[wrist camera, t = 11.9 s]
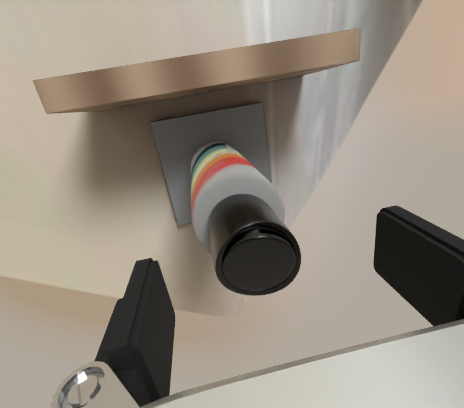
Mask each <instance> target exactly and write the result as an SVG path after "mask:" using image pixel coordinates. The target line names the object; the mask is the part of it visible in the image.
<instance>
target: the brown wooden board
mask: <svg viewBox="0 0 464 408" xmlns="http://www.w3.org/2000/svg"><path fill="white" fill-rule="evenodd" d="M359 60H360V28H359V29H352V30H346V31H340V32H334V33H327V34H321V35H315V36H308V37H302V38H296V39H290V40H283V41H277V42H271V43H264V44H258V45H252V46H246V47H239V48H233V49H227V50H221V51H214V52H208V53H202V54H195V55H189V56H183V57H177V58H170V59H164V60H158V61H151V62H145V63H139V64H133V65H126V66H120V67H114V68H108V69H101V70H95V71H89V72H82V73H76V74H70V75H64V76H57V77H51V78H45V79H39V80H33V82H34V85H35V87H36V90H37V92H38V95H39V97H40V99H41V102H42V104H43V107H44V109H45V112H46V114H50V113H69V112H88V111H100V110H105V109H111V108H117V107H123V106H129V105H134V104H140V103H146V102H152V101H158V100H164V99H169V98H175V97H181V96H187V95H193V94H198V93H204V92H210V91H216V90H222V89H227V88H233V87H239V86H245V85H251V84H256V83H262V82H268V81H274V80H280V79H285V78H291V77H297V76H303V75H307V74H311V73H314V72H318V71H322V70H325V69H329V68H333V67H337V66H340V65H344V64H348V63H352V62H355V61H359Z"/></svg>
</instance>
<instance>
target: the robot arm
mask: <svg viewBox="0 0 464 408" xmlns="http://www.w3.org/2000/svg"><path fill="white" fill-rule="evenodd" d="M374 269H375V271H376V272H377V273H378V274H379V275H380V276H381V277H382V278H383V279H384V280H385V281H386V282H387V283H389V285H390V286H392V287H393V288H394V289H395V290H396V291H397V292H398V293H399V294H400V295H401V296H402V297H403V298H404V299H405V300H406V301H408V302H409V303H410V304H411V305H412V306H413V307H414V308H415V309H416V310H417V311H418V312H419V313H420V314H421V315H422V316H423V317H425V318H426V319H427V320H428V321H429V322H430V323H431V324H432V325H433V327H429V328H425V329H421V330H417V331H413V332H409V333H404V334H401V335H396V336H392V337H388V338H384V339H381V340H376V341H372V342H369V343H364V344H361V345H356V346H353V347H348V348H344V349H341V350H337V351H333V352H329V353H325V354H321V355H317V356H313V357H309V358H305V359H301V360H298V361H294V362H290V363H286V364H282V365H278V366H274V367H270V368H266V369H262V370H259V371H255V372H251V373H247V374H243V375H239V376H235V377H232V378H228V379H225V380H221V381H217V382H214V383H210V384H207V385H203V386H199V387H196V388H192V389H189V390H185V391H182V392H179V393H176V394H173V395H170V396H169V392H170V378H171V365H172V353H173V340H174V327H175V313H174V309H173V306H172V303H171V300H170V297H169V294H168V291H167V288H166V285H165V282H164V279H163V275H162V272H161V269H160V266H159V263H158V261H157V260H156V261H153V260H152V258H149V259H144V260H139V261H136V263H135V266H134V269H133V272H132V274H131V277H130V280H129V283H128V286H127V289H126V292H125V295H124V297H123V298H122V299H119V300H118V301H117V303H116V305H115V308H114V310H113V313H112V316H111V318H110V321H109V324H108V327H107V330H106V332H105V335H104V337H103V340H102V343H101V345H100V348H99V351H98V353H97V356H96V359H95V361H94V362H90V363H87V364H85V365H83V366H81V367H79V368H77V369H76V370H74V371H73V372H72V373H71V374H69V376H67V377H66V378H65V379H64V380H63V382H62V383H61V384H60V385H59V387H58V388H57V390H56V392H55V394H54V395H53V398H52V402H51V408H464V240H463V239H461V238H459V237H457V236H455V235H453V234H451V233H449V232H447V231H446V230H444V229H442V228H440V227H438V226H436V225H434V224H432V223H430V222H428V221H426V220H424V219H422V218H420V217H419V216H416V215H415V214H413V213H411V212H409V211H407V210H405V209H403V208H401V207H399V206H391V207H386V208H382V209H381V210H380V212H379V213H378V214H377V222H376V237H375V251H374Z"/></svg>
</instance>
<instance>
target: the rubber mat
mask: <svg viewBox="0 0 464 408" xmlns="http://www.w3.org/2000/svg"><path fill="white" fill-rule="evenodd" d="M150 124H151V128H152V131H153V135H154V139H155V142H156V146H157V150H158V153H159V157H160V161H161V165H162V168H163V172H164V176H165V179H166V183H167V187H168V191H169V194H170V198H171V202H172V205H173V209H174V213H175V216H176V220H177V224H178V226H179V225H184V224H188V223H192V216H191V175H190V167H191V160H192V157H193V155H194V153H195V152H196V150H197V149H198V148H199V147H201V146H202V145H204V144H206V143H208V142H212V141H220V142H224V143H227V144H229V145H230V146H232V147H233V148H234V149H236V150H237V151H238V152H239V153H240V154H241V155H242V156H243V157H244V158H245V159H246V160H247V161H248V162H249V163H250V164H252V165H253V166H254V167H255V168H256V169H257V170H258V171H259V172H260V173H261V174H262V175H263V176H264V177H265V178H266V179H267V180H268V181H269V182H270V183H271V184H272V182H271V172H270V163H269V154H268V145H267V136H266V127H265V118H264V109H263V103H256V104H250V105H245V106H239V107H234V108H228V109H222V110H217V111H211V112H206V113H200V114H194V115H189V116H183V117H178V118H172V119H166V120H161V121H155V122H151V123H150Z"/></svg>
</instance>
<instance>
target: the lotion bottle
mask: <svg viewBox="0 0 464 408" xmlns="http://www.w3.org/2000/svg"><path fill="white" fill-rule="evenodd" d="M190 175H191V216H192V226H193V230H194V233H195V236H196V238H197V239H198V241H199V243H200V244H201V245H202V246H203V247H204V248H205V249H206V250H207V251H208V252H210V253H211V254H212V255H213V261H214V266H215V271H216V275H217V277H218V279H219V281H220V282H221V283H222V284H223V285H224V286H225V287H226V288H228V289H229V290H231V291H234V292H236V293H240V294H244V295H266V294H270V293H274V292H277V291H279V290H281V289H283V288H285V287H286V286H287V285H289V284H290V283H291V282H292V281H293V279H294V278H295V277H296V275H297V274H298V271H299V268H300V264H301V253H300V249H299V245H298V243H297V241H296V239H295V238H294V236H293V234H292V233H291V232H290V231H289V229H288V228H287V227H286V226H285V224H284V217H285V211H284V205H283V201H282V199H281V196H280V194H279V193H278V191H277V190H276V188H275V187H274V186H273V185H272V184H271V183H270V182H269V181H268V180H267V179H266V178H265V177H264V176H263V175H262V174H261V173H260V172H259V171H258V170H257V169H256V168H255V167H254V166H253V165H252V164H250V163H249V162H248V161H247V160H246V159H245V158H244V157H243V156H242V155H241V154H240V153H239V152H238V151H237V150H236V149H234V148H233V147H232V146H230V145H229V144H227V143H224V142H220V141H212V142H208V143H206V144H204V145H202V146H201V147H199V148H198V149H197V150H196V152H195V153H194V155H193V157H192V160H191V167H190Z"/></svg>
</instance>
